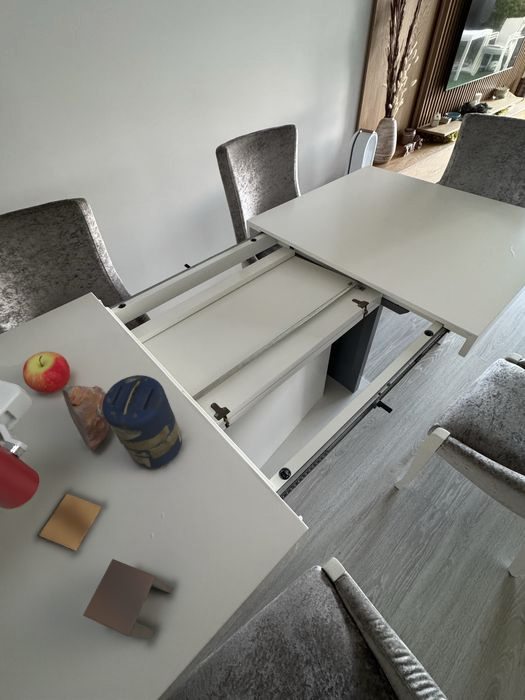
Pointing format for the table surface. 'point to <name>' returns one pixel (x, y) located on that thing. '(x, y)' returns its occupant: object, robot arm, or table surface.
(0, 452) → the tube
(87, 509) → the coaster
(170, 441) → the canister
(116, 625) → the brown wooden stand
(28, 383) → the apple
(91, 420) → the stone
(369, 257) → the table surface
